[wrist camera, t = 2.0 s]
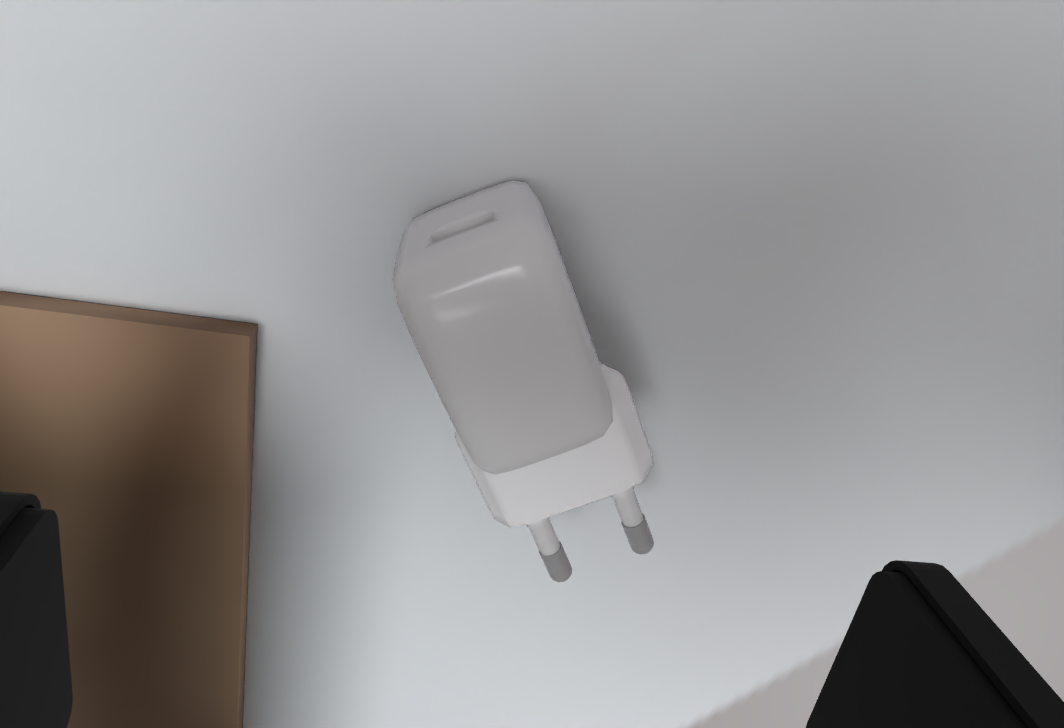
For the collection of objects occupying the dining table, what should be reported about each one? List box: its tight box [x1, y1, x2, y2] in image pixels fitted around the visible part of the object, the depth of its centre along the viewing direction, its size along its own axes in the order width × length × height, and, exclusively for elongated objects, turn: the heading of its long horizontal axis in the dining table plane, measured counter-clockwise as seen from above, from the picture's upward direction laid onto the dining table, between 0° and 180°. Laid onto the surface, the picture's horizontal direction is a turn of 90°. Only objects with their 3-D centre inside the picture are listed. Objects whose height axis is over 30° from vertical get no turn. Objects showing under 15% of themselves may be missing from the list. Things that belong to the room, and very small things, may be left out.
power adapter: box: [393, 180, 654, 582], centre depth 19 cm, size 10×4×5 cm, turn 20°
